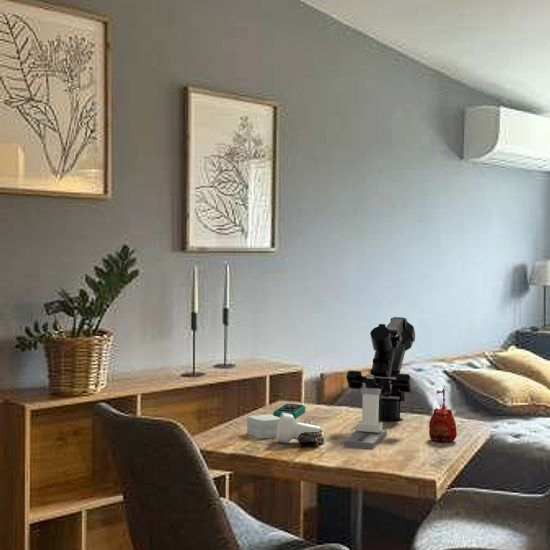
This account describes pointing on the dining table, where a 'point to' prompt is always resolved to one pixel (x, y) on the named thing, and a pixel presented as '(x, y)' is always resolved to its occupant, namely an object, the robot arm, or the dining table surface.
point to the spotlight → (292, 428)
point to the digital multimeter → (290, 410)
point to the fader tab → (370, 411)
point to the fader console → (365, 439)
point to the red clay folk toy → (442, 424)
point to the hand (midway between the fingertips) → (374, 404)
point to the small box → (262, 426)
